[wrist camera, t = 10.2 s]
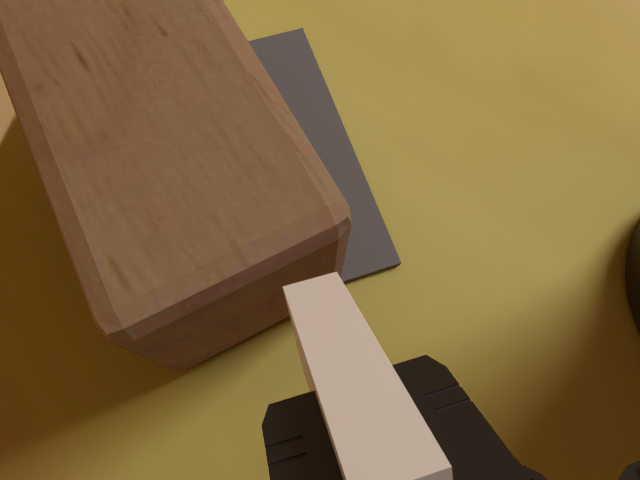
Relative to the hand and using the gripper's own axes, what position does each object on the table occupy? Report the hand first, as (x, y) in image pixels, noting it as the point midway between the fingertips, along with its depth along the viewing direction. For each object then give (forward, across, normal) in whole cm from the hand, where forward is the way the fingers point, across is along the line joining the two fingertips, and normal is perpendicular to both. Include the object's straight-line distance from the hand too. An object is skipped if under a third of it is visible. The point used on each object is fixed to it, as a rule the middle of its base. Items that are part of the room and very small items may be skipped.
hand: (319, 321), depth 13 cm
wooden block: (+7, +2, +4) cm, 8 cm away
